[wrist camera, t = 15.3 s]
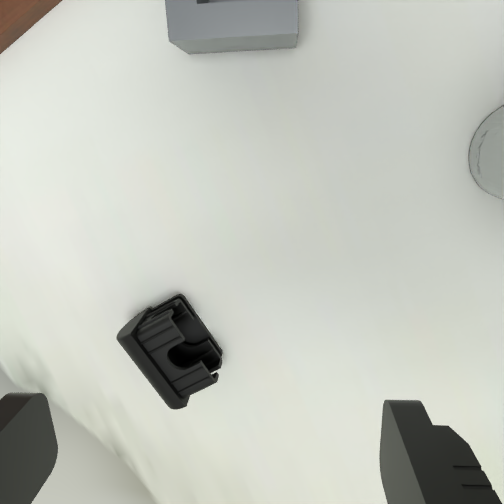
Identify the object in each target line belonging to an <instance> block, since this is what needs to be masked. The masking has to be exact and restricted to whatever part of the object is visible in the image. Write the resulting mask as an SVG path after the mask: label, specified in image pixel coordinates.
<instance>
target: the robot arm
mask: <svg viewBox="0 0 504 504" xmlns="http://www.w3.org/2000/svg"><path fill="white" fill-rule="evenodd" d="M469 165H470V169H471V173H472V175H473V177H474V179H475V181H476V182H477V183H478V185H479V186H480V187H481V188H482V189H483V190H485V191H486V192H488V193H489V194H491V195H494V196H496V197H499V198H501V199H504V106H502V107H500V108H499V109H498V110H496V111H495V112H493V113H492V114H491V115H490V116H489V117H488V118H487V119H486V120H485V121H484V122H483V123H482V124H481V126H480V127H479V129H478V130H477V131H476V133H475V136H474V138H473V140H472V143H471V147H470V152H469ZM57 453H58V445H57V440H56V435H55V431H54V426H53V422H52V418H51V414H50V409H49V404H48V401H47V398H46V396H45V395H44V394H42V393H8V394H6V395H5V396H4V397H3V398H2V399H1V400H0V504H31V503H32V501H33V500H34V498H35V497H36V495H37V494H38V492H39V491H40V489H41V487H42V486H43V484H44V483H45V481H46V480H47V478H48V477H49V475H50V474H51V472H52V470H53V468H54V465H55V462H56V459H57ZM380 472H381V479H382V484H383V488H384V492H385V495H386V499H387V503H388V504H502V503H501V501H500V499H499V497H498V496H497V494H496V492H495V490H492V485H491V483H490V481H489V480H488V478H487V476H486V474H485V472H484V471H482V470H481V465H480V464H479V462H478V460H477V458H476V456H475V455H474V453H473V451H472V449H471V448H470V446H469V444H468V443H467V442H466V441H465V440H463V439H462V438H461V437H460V436H459V435H458V434H457V433H456V432H455V431H454V430H452V429H451V428H450V427H449V426H438V425H432V422H431V420H430V418H429V416H428V414H427V412H426V410H425V408H424V406H423V404H422V403H421V401H419V400H385V401H384V404H383V414H382V428H381V441H380Z"/></svg>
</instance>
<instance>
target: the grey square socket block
mask: <svg viewBox="0 0 504 504" xmlns="http://www.w3.org/2000/svg"><path fill="white" fill-rule="evenodd" d="M165 5H166V16H167V26H168V37H169V42H171V43H173V44H174V45H176V46H177V47H179V48H180V49H182V50H183V51H185V52H186V53H188V54H199V53H216V52H233V51H250V50H266V49H283V48H296V43H297V37H298V0H165Z"/></svg>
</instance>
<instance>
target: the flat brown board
mask: <svg viewBox="0 0 504 504" xmlns="http://www.w3.org/2000/svg"><path fill="white" fill-rule="evenodd" d="M61 1H62V0H0V54H1V53H2V52H3V51H4V50H6V49H7V48H8V47H9V46H10V45H11V44H12V43H14V42H15V41H16V40H17V39H18V38H19V37H20V36H22V35H23V34H24V33H25V32H26V31H27V30H28V29H30V28H31V27H32V26H33V25H34V24H35V23H37V22H38V21H39V20H40V19H41V18H42V17H43V16H45V15H46V14H47V13H48V12H49V11H50V10H51V9H53V8H54V7H55V6H56V5H57V4H58V3H60V2H61Z"/></svg>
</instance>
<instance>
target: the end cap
mask: <svg viewBox="0 0 504 504" xmlns="http://www.w3.org/2000/svg"><path fill="white" fill-rule="evenodd" d="M117 340H118V342H119V343H120V344H121V346H122V347H123V348H124V350H125V351H126V352H127V353H128V355H129V356H130V357H131V359H132V360H133V361H134V363H135V364H136V365H137V366H138V368H139V369H140V370H141V372H142V373H143V374H144V376H145V377H146V378H147V379H148V381H149V382H150V383H151V385H152V386H153V387H154V389H155V390H156V391H157V392H158V394H159V395H160V396H161V398H162V399H163V400H164V402H165V403H166V404H167V405H168V407H169V408H171V409H181V408H183V407H186V406H187V403H188V400H189V397H190V395H192V394H194V393H196V392H198V391H200V390H202V389H204V388H206V387H208V386H210V385H212V384H214V383H216V382H217V380H218V376H219V374H218V373H217V372H216V373H214V374H212V375H211V374H210V373H212V372H214V371H216V370H218V369H220V368H221V365H222V358H221V356H222V350H221V348H220V347H219V345H218V344H217V342H216V341H215V340H214V338H213V337H212V335H211V334H210V332H209V331H208V330H207V328H206V327H205V325H204V324H203V322H202V321H201V320H200V318H199V317H198V315H197V314H196V312H195V311H194V310H193V308H192V307H191V305H190V304H189V302H188V301H187V300H186V298H185V297H184V296H183V295H181V294H178V295H176V296H174V297H172V298H171V299H169V300H167V301H165V302H163V303H162V304H160V305H158V306H156V307H154V308H153V309H150V308H148V309H146V310H144V311H143V312H141V313H140V314H138V315H137V316H136V317H134V318H133V319H132V320H130V321H129V322H128V323H127V324H126V325H125V326H124V327H123V328H122V329H121V330H120V331H119V333H118V334H117Z"/></svg>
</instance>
